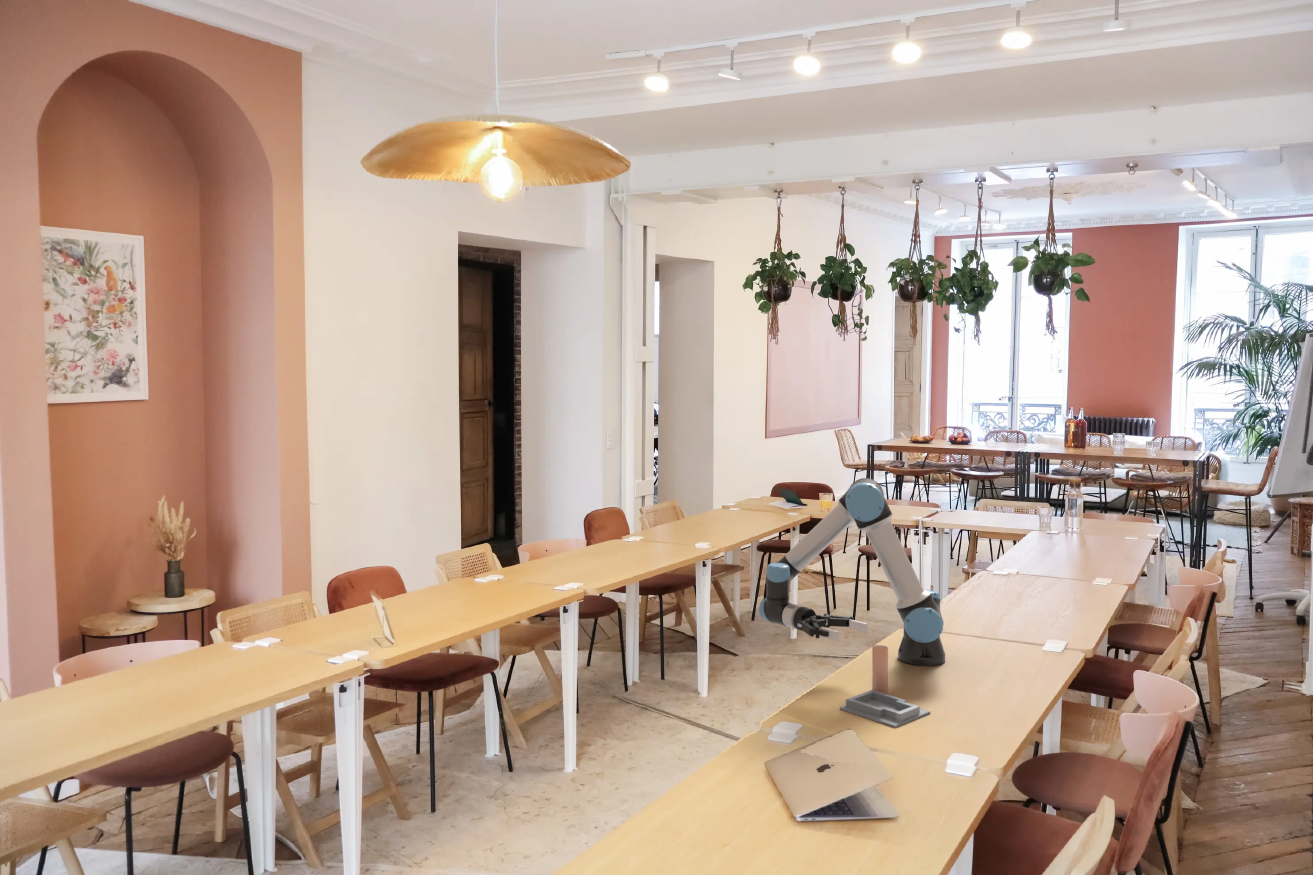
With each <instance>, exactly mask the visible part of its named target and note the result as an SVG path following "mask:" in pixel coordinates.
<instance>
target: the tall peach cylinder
mask: <svg viewBox="0 0 1313 875" xmlns="http://www.w3.org/2000/svg"><path fill="white" fill-rule="evenodd" d="M871 654H872V658H871V659H872V660H871V661H872V663H871V667H872V669H871V670H872V673H871V674H872V679H871V682H872V683H871V684H872V687H871V690H875V691H878V692H881V693H885V694H888V695H889V690H888V689H889V684H888V683H889V647H888V646H886V645H881V644H879V645H876V644H875V645H873V646H872V652H871Z"/></svg>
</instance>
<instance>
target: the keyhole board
mask: <svg viewBox="0 0 1313 875" xmlns="http://www.w3.org/2000/svg"><path fill="white" fill-rule="evenodd" d="M920 707H921V706H920V705H919V706H918V705H916V704H913V703H910V702H908V701H907V699H903V698H901V697H898V696H893V695H890V694H889V693H888V694H885V693H881V692H878V691H875V690H872V689H870V690H868V691H865V692H863V693H859V694H857V695H853V696H851V697H849V698H845V705H842V706H839V710H842V711H844V712H847V713H850V714H853V715H855V716H859V717H862V718H865V719H868V720H871V721H874V722H877V723H880V724H883V725H885V726H889V727H892V728H898V727H900V726H901V727H902V726H903V725H906V724H908V723H910V722H912V721H915V720H919V719H920V718H923V717H925V716H928V715H930V714H931V711H930V710H928V709H927V710H926V709H923V708H920Z"/></svg>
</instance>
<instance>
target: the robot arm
mask: <svg viewBox="0 0 1313 875" xmlns="http://www.w3.org/2000/svg"><path fill="white" fill-rule="evenodd" d="M884 493H885V492H884V490H883V488H882V486H881V484H880V483H879V482H877V480H874V479H872V478H866V477H863V478H859V479H857V480H855V481H854V482H852V483H851V484H850V486H849V487H848V489H847V490H846V492H845V493H844V494H842V496H841V497H840V498H839V499H837V500H838V501H837V505H836V506H835V507H834V508H833V509H832V510H831V511H830V512H828V514H827V515H826V516H824V517H823V519H821V520H820V521H819V522H818V523H817V524H816V525H814V527H813V528H812V529H811V530H810V531H809V532H808V533H807V534H806V535H805V536H804V537H803V538H802V539H800V540H799V541H798V542H797V543H796V544H795V545H794V546H793V547H792V548H791V549H789V551H787V553H786V554H785V555H784V556H783V557H782V558H781V559H779V560H778V561H776V562H772V563H769V564H767V566H766V574H765V577H766V580H765V581H766V583H765V584H766V597H765V598H763V599H762V600H761V601H760V603H759V604H760V605H759V606H758V614H759V616H760V617H761V619H763V620H765V621H768V622H769V623H772V624H777V625H779V626H780V625H781V626H783V627H788V628H790V629H791V630H798V631H802V632H804V633H805V634H807V635H808V636H809V637H815V639H820V637H821V638H826V639H829V640H833V641H840V631H838V630H834V629H831V628H830V627H839V628H848V629H851V630H854V631H859V632H862V633H866V634H867V633H868V624H869V623H867V622H863V621H859V620H855V617H853V616H845V615H844V616H842V615H835V614H834V615H833V614H827V613H824V614H823V615H821V614H816V612H815V610H814V609H812V608H811V607H806V606H802V605H799V604H795V603H792V602H790V585H791V583H792V580H794V578H796V577H797V576H798V575H799V573H801V572H802V571H803V570H804V569H805V568H807V566H808V565H809V564H810V563H811V562H812V561H813V560H814V559H816V558H817V557H818V556H819V555H820V554H821V553H822V552H823V551H824V550H826V548H827V547H828V546H829V545H830V544H832V543H833V542H834V541H835V540H836V539H837V538H838V537H840V535H841V534H842V533H843V532H844V531H846V529H847V528H849V527H850V526H851V525H852V524H853V523H854V522H855V525H856V526H857V529H858V530H860V531H862V532H865V534H866V536H867V538H868V541H869V542H870V544H871V546H872V549H873V551H874V553H875V556H876V557H877V559H878V562H879V564H880V565H881V568H882V570H883V572H884V575H885V576H886V578H887V580H888V582H889V584H890V586H891V588H892V590H893V593H894V595H895V598H896V599H897V601H896V604H895V608H896V610H897V612H898V614H899V616H900V618H901V620H902V622H903V636H902V638H901V641H900V645H899V648H898V650H897V651H898V652H897V659H898V660H899V661H901V662H904V663H906V664H908V665H909V664H910V665H915V666H925V667H926V666H937V665H942V664H944V663H945V662H946V652H945V650H944V646H943V642H942V639H941V634H942V632H943V630H944V618H943V616H942V613H941V601H942V599H941V594H940V592H939V591H936V590H929V589H924V588H923V586H922V584H921V582H920V579H919V578H918V575H917V574H916V571H915V570H914V568H913V565H912V564H911V561H910V559H909V557H908V555H907V552H906V550H905V548H904V546H903V544H902V541H901V540H900V538H899V536H898V534H897V531H896V530H895V528H894V525H893V524H892V520H891V519H892V517H893V512H892V510H891V508H890V506H889V504H888V501H887V500H886V498H885V494H884Z"/></svg>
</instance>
